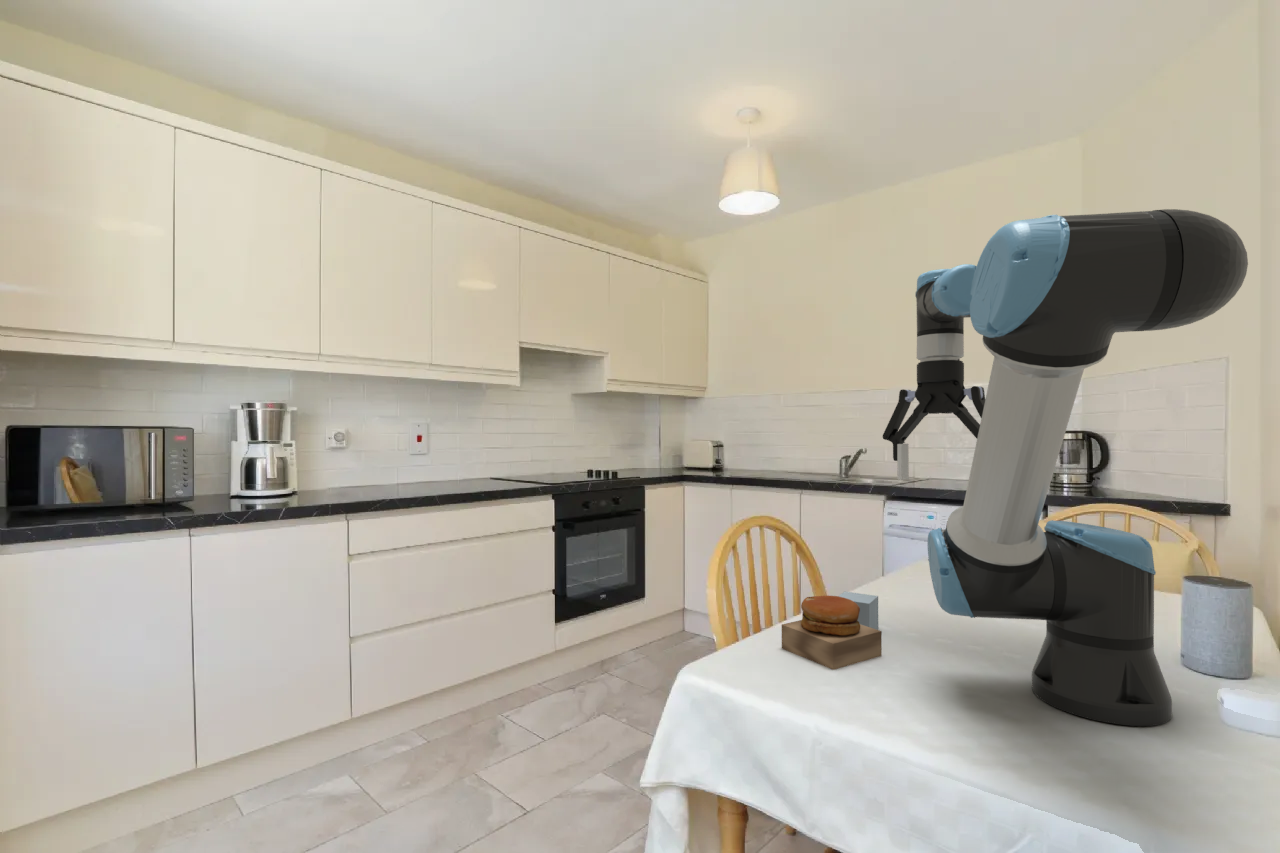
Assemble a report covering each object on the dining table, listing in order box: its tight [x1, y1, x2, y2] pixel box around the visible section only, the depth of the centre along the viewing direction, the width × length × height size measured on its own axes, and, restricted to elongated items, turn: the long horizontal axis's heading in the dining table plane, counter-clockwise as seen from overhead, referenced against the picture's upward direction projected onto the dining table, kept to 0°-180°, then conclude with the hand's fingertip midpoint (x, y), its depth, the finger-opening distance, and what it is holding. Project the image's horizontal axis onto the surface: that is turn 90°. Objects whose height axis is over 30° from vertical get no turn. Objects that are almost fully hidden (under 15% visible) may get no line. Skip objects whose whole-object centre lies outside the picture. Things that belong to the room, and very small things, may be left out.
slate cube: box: [838, 591, 879, 630], centre depth 116 cm, size 6×6×6 cm
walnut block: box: [781, 619, 883, 671], centre depth 105 cm, size 11×11×4 cm
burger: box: [800, 595, 860, 636], centre depth 105 cm, size 10×9×5 cm
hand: (940, 481), depth 113 cm, fingers open, 13 cm apart
